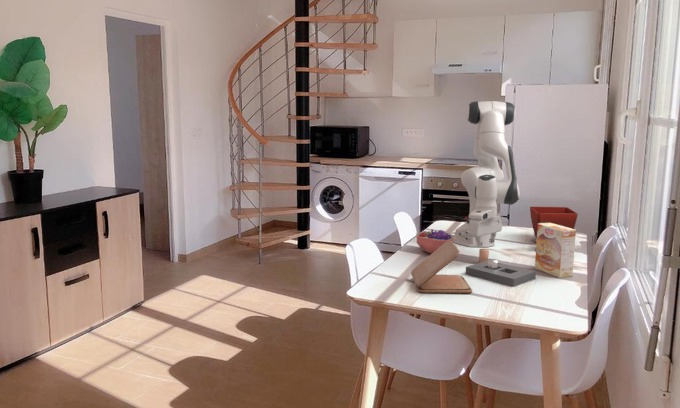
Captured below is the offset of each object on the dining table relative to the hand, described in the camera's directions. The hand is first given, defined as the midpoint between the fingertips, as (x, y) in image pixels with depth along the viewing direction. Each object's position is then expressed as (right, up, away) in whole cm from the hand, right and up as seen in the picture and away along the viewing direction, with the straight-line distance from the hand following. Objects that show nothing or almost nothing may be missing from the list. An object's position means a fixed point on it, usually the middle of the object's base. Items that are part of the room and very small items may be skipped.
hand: (485, 244), depth 241 cm
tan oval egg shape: (0, -8, +2) cm, 9 cm away
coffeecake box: (+25, -11, -11) cm, 29 cm away
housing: (+1, -12, -17) cm, 21 cm away
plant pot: (+45, -2, +43) cm, 62 cm away
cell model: (-19, -6, +20) cm, 28 cm away
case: (-25, -14, -30) cm, 41 cm away
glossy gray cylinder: (-1, -11, -15) cm, 19 cm away
